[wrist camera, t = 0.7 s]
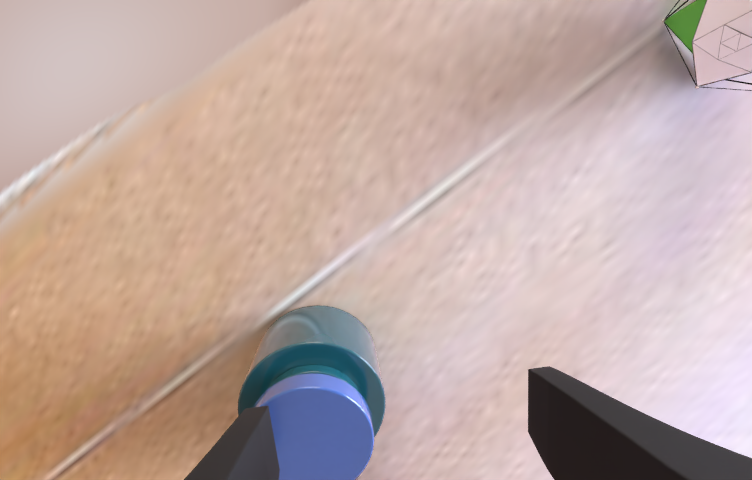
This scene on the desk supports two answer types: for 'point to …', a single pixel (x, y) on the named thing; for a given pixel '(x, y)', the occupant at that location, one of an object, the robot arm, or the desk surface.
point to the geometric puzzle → (715, 38)
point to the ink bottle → (318, 393)
